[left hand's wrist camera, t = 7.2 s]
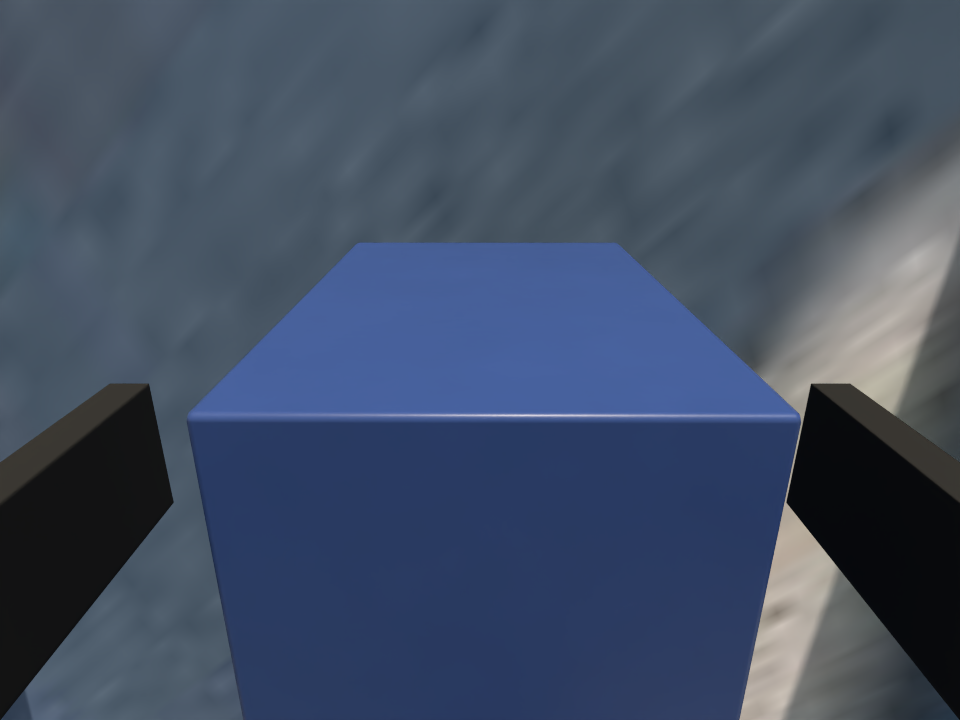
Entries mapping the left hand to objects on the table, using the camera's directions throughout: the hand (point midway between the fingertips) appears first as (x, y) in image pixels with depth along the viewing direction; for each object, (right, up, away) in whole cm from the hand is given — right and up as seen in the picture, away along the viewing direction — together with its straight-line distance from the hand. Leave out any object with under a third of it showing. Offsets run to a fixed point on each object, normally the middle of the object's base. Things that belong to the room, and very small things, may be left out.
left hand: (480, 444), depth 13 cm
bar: (0, -6, +5) cm, 8 cm away
